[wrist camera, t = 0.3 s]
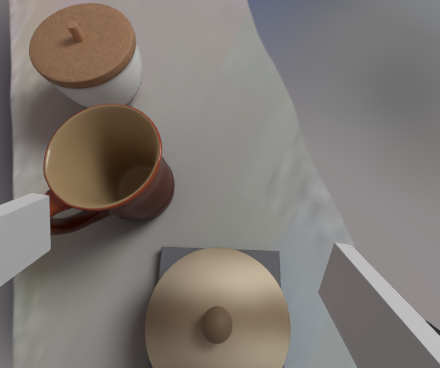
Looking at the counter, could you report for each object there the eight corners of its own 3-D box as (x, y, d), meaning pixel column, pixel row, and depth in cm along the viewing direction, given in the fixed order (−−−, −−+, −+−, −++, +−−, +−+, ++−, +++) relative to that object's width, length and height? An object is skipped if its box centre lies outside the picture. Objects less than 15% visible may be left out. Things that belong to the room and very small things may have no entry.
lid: (284, 395, 21) (299, 427, 17) (146, 388, 21) (128, 418, 17) (279, 251, 24) (290, 249, 20) (161, 246, 25) (150, 243, 21)
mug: (151, 143, 29) (115, 84, 20) (198, 192, 27) (185, 153, 18) (68, 209, 27) (-20, 180, 17) (114, 268, 25) (43, 273, 15)
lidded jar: (96, 140, 30) (41, 88, 21) (59, 84, 32) (-3, 16, 23) (169, 97, 32) (147, 32, 23) (128, 47, 34) (95, -29, 25)
